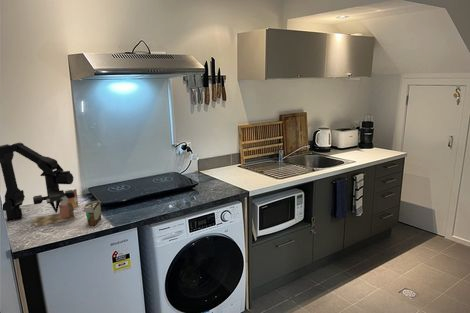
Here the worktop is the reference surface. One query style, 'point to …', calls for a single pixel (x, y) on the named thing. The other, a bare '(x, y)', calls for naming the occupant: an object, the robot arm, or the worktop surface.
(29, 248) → the worktop surface
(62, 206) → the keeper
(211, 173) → the worktop surface
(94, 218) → the food container
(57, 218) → the rail
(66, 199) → the small box
